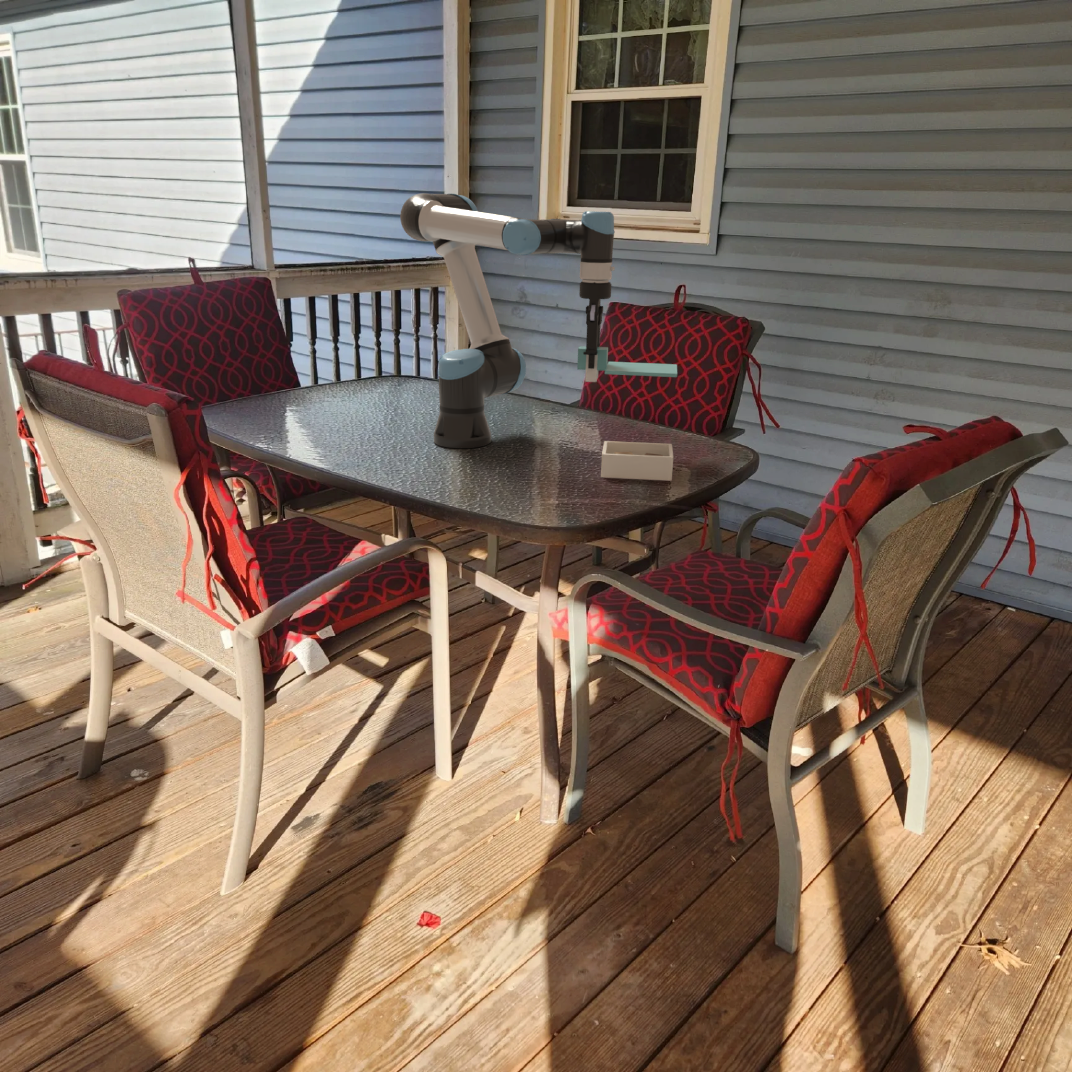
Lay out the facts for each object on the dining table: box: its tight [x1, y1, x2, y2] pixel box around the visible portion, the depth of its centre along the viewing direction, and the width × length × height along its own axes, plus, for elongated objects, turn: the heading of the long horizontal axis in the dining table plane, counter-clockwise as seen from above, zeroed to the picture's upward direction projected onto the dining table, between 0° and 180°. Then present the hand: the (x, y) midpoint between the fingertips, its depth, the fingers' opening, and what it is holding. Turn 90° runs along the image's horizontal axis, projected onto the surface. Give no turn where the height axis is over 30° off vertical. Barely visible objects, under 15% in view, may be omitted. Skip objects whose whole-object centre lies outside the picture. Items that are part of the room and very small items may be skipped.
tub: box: [600, 440, 674, 482], centre depth 198 cm, size 16×12×6 cm
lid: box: [576, 345, 678, 378], centre depth 207 cm, size 24×13×5 cm, turn 82°
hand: (591, 379), depth 210 cm, fingers closed on lid, 4 cm apart
